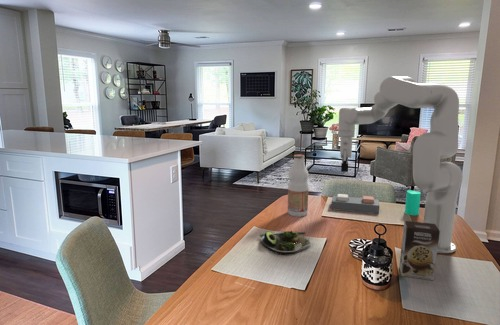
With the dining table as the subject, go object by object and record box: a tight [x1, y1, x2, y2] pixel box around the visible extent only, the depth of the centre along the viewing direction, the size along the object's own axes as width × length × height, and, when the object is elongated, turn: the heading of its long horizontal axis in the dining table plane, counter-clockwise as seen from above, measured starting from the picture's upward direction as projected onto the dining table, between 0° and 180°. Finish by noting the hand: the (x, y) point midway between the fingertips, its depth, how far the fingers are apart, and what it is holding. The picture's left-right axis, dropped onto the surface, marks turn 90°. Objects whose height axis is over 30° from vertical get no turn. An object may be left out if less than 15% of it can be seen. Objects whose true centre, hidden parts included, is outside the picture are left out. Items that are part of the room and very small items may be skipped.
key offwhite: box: [336, 193, 349, 201], centre depth 167 cm, size 5×5×4 cm
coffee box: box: [398, 220, 440, 281], centre depth 103 cm, size 9×6×16 cm
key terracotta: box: [362, 195, 375, 204], centre depth 163 cm, size 5×5×4 cm
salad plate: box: [258, 230, 312, 256], centre depth 126 cm, size 19×18×5 cm
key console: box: [330, 195, 381, 215], centre depth 165 cm, size 22×10×4 cm, turn 72°
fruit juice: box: [287, 154, 310, 217], centre depth 155 cm, size 9×9×28 cm
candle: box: [404, 189, 422, 216], centre depth 157 cm, size 6×6×12 cm
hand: (344, 171), depth 164 cm, fingers closed
